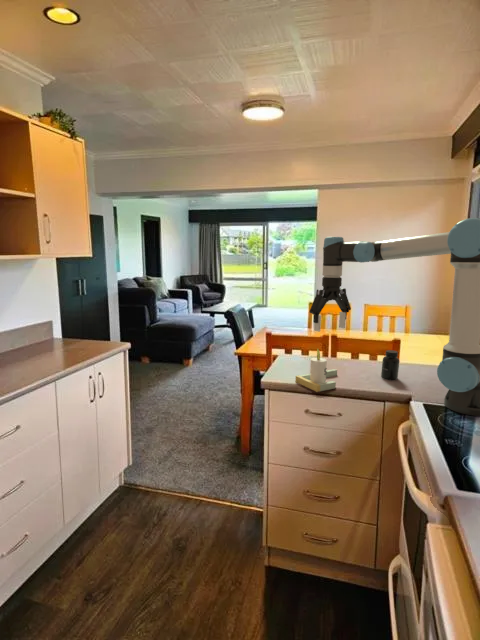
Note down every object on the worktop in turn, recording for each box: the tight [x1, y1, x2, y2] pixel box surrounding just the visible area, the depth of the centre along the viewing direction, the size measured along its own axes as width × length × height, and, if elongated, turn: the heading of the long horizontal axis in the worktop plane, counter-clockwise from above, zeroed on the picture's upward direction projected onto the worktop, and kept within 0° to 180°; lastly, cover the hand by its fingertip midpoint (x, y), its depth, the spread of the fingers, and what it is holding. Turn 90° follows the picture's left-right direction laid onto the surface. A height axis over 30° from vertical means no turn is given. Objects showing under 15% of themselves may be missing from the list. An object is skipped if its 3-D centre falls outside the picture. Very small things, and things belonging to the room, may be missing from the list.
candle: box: [309, 348, 328, 384], centre depth 165 cm, size 6×6×15 cm
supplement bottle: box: [380, 349, 400, 381], centre depth 175 cm, size 7×7×12 cm
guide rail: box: [295, 368, 338, 393], centre depth 168 cm, size 14×22×2 cm, turn 120°
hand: (329, 329), depth 164 cm, fingers open, 13 cm apart
